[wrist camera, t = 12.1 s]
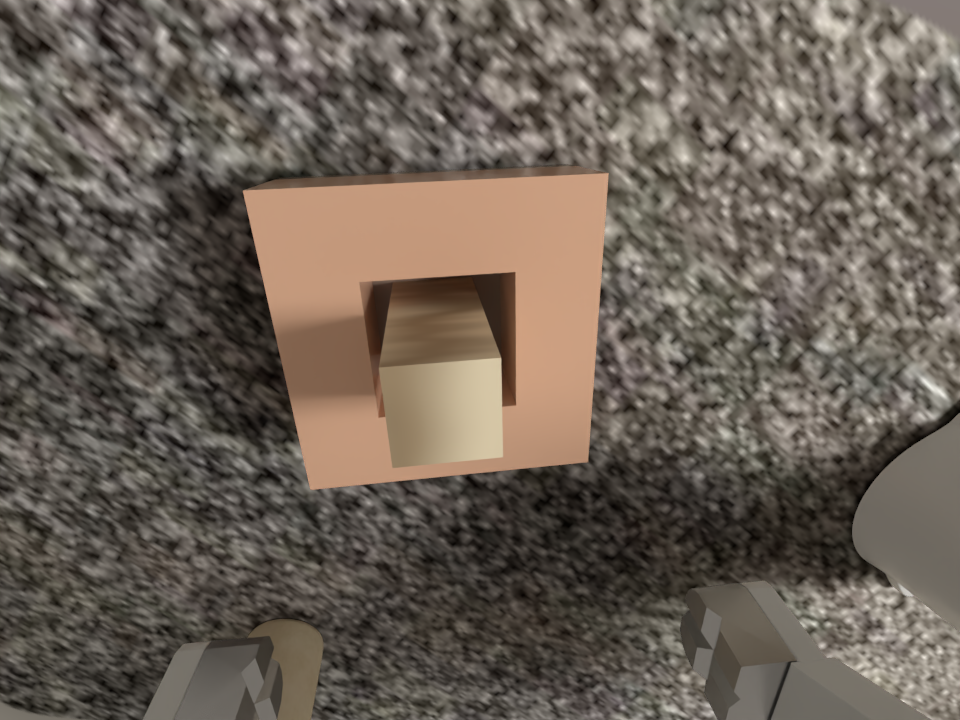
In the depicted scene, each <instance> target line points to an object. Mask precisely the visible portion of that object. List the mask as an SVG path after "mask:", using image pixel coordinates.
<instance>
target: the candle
mask: <svg viewBox="0 0 960 720" xmlns="http://www.w3.org/2000/svg"><path fill="white" fill-rule="evenodd" d="M263 636H270V638H271V640H272V643H273V646H274V650H273V653H272V657H271V658H272V659H274V660H276V661H277V662H279V664H280V667H281V670H282V678H283V689H282V699H281V705H280V709H279V713H278V717H277V720H311V716H312V710H313V705H314V699H315V694H316V688H317V683H318V677H319V672H320V666H321V660H322V654H323V638H322V636H321V634H320V633H319V631H318V630H317V629H316V628H314V627H313V626H311V625H310V624H308V623H305V622H303V621H299V620H295V619H276V620H271V621H268V622H265V623H263V624H260V625H259V626H257V627H256V628H255V629H253V631H252V632H251V633H250V634H249V636H248V638H252V637H263Z"/></svg>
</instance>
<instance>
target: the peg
mask: <svg viewBox="0 0 960 720" xmlns="http://www.w3.org/2000/svg"><path fill="white" fill-rule="evenodd" d="M379 373H380V380H381V387H382V395H383V402H384V409H385V417H386V424H387V431H388V439H389V446H390V454H391V461H392V468H399V467H409V466H419V465H429V464H440V463H450V462H460V461H470V460H480V459H491V458H501V457H503V426H502V373H501V356H500V353H499V350H498V348H497V345H496V342H495V339H494V337H493V334H492V331H491V329H490V326H489V323H488V320H487V318H486V315H485V312H484V310H483V307H482V304H481V301H480V299H479V296H478V293H477V290H476V288H475V285H474V282H473V280H472V277H464V278H449V279H434V280H418V281H403V282H393V284H392V291H391V297H390V303H389V309H388V315H387V321H386V327H385V333H384V339H383V345H382V351H381V357H380V364H379Z"/></svg>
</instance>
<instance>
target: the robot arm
mask: <svg viewBox="0 0 960 720" xmlns="http://www.w3.org/2000/svg"><path fill="white" fill-rule="evenodd" d="M852 537H853V542H854V546H855V548H856V550H857V552H858V553H859V555H860V556H861V557H862V558H863V559H864V560H866V561H867V562H868V563H870V564H872V565H873V566H875V567H876V568H878V569H879V570H881V571H883V572H884V573H886V576H887V578H888V580H889V582H890V584H891V585H892V586H893V587H894V588H896V589H897V590H898V591H899V592H901V593H902V594H903V595H905V596H915V597H916V598H917V599H919V600H920V601H921V602H922V603H924V604H925V605H926V606H927V607H929V608H930V609H931V610H932V611H934V612H935V613H936V614H937V615H939V616H940V617H941V618H942V619H944V620H945V621H946V622H947V623H949V624H950V625H951V626H952V627H954V628H955V629H956V630H957V631H959V632H960V413H959V414H958V415H957V416H956V417H955V418H954V419H953V420H952V421H951V422H950V423H948V424H947V425H945V426H944V427H942V428H941V429H939V430H938V431H936V432H934V433H932V434H931V435H929V436H927V437H926V438H924V439H922V440H920V441H919V442H917V443H916V444H914V445H913V446H911V447H910V448H908V449H907V450H906V451H904V452H903V453H902V454H900V455H899V456H898V457H897V458H896V459H895V460H893V461H892V462H891V463H890V464H889V465H888V466H887V467H886V468H885V469H884V470H883V471H882V472H881V473H880V474H879V475H878V477H877V478H876V479H875V480H874V481H873V483H872V484H871V485H870V487H869V488H868V490H867V491H866V493H865V494H864V496H863V498H862V500H861V502H860V504H859V506H858V508H857V511H856V514H855V517H854V521H853V527H852ZM685 603H686V604H687V606H688V608H689V611H688V612H687V613H686V614H685V615H684V616H683V617H682V620H681V627H680V632H681V638H682V644H683V647H684V650H685V653H686V656H687V658H688V660H689V662H690V665H691V667H692V669H693V670H695V671H696V672H697V673H698V674H700V675H701V676H702V677H703V678H705V679H706V684H705V691H704V693H705V695H706V697H707V699H708V701H709V703H710V705H711V707H712V709H713V711H714V713H715V715H716V717H717V719H718V720H931V719H929V718H928V717H926V716H925V715H923V714H921V713H920V712H918V711H917V710H915V709H914V708H912V707H911V706H909V705H907V704H906V703H904V702H903V701H901V700H900V699H898V698H897V697H895V696H893V695H892V694H890V693H889V692H887V691H886V690H884V689H883V688H881V687H879V686H878V685H876V684H875V683H873V682H872V681H870V680H869V679H867V678H865V677H864V676H862V675H861V674H859V673H858V672H856V671H855V670H853V669H851V668H850V667H848V666H847V665H845V664H844V663H842V662H841V661H839V660H837V659H836V658H826V656H825V655H824V654H823V653H822V651H821V650H820V649H819V647H818V646H817V645H816V643H815V642H814V641H813V639H812V638H811V637H810V635H809V634H808V633H807V632H806V630H805V629H804V628H803V626H802V625H801V624H800V622H799V621H798V620H797V618H796V617H795V616H794V615H793V613H792V612H791V611H790V609H789V608H788V607H787V605H786V604H785V603H784V601H783V600H782V599H781V597H780V596H779V595H778V594H777V592H776V591H775V590H774V588H773V587H772V586H771V585H770V584H769V583H767V582H766V581H755V582H747V583H740V584H738V583H732V584H724V585H716V586H708V587H700V588H693V589H690V590H689V591H688V592H687V595H686V599H685ZM273 650H274V646H273V643H272V640H271V638H270V636H263V637H252V638H240V639H229V640H217V641H205V642H196V643H186V644H183V645H182V646H181V647H180V648H179V649H178V651H177V652H176V653H175V654H174V656H173V658H172V660H171V662H170V664H169V666H168V668H167V671H166V673H165V675H164V677H163V679H162V681H161V683H160V685H159V687H158V689H157V691H156V693H155V695H154V697H153V699H152V701H151V703H150V705H149V707H148V710H147V712H146V714H145V716H144V718H143V720H277V717H278V713H279V709H280V705H281V699H282V689H283V678H282V670H281V667H280V664H279V662H277V661H276V660H274V659H272V658H271V657H272V653H273Z"/></svg>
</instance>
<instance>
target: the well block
mask: <svg viewBox="0 0 960 720" xmlns="http://www.w3.org/2000/svg"><path fill="white" fill-rule="evenodd" d="M608 174H609V173H605V172H601V171H596V170H592V169H587V168H583V167H578V166H574V165H550V166H528V167H506V168H484V169H462V170H440V171H418V172H397V173H375V174H353V175H331V176H309V177H287V178H278V179H275V180H272V181H269V182H266V183H263V184H260V185H257V186H255V187H252V188H249V189H246V190H243V194H244V198H245V203H246V207H247V212H248V216H249V221H250V225H251V229H252V234H253V238H254V243H255V247H256V251H257V256H258V260H259V265H260V269H261V273H262V278H263V282H264V287H265V291H266V296H267V300H268V304H269V309H270V313H271V318H272V322H273V326H274V331H275V335H276V340H277V344H278V349H279V353H280V357H281V362H282V366H283V371H284V375H285V379H286V384H287V388H288V393H289V397H290V401H291V406H292V410H293V415H294V419H295V424H296V428H297V432H298V437H299V441H300V446H301V450H302V454H303V459H304V463H305V468H306V472H307V476H308V481H309V485H310V490H314V489H324V488H334V487H344V486H354V485H364V484H374V483H384V482H394V481H404V480H414V479H424V478H434V477H444V476H454V475H464V474H474V473H484V472H494V471H504V470H514V469H524V468H534V467H544V466H554V465H564V464H574V463H584V462H588V455H589V441H590V427H591V413H592V399H593V385H594V371H595V357H596V343H597V329H598V315H599V300H600V286H601V272H602V258H603V244H604V230H605V216H606V202H607V188H608ZM464 277H472V280H473V282H474V285H475V288H476V290H477V293H478V296H479V299H480V301H481V304H482V307H483V310H484V312H485V315H486V318H487V320H488V323H489V326H490V329H491V331H492V334H493V337H494V339H495V342H496V345H497V348H498V350H499V353H500V356H501V373H502V426H503V457H501V458H491V459H480V460H470V461H460V462H450V463H440V464H429V465H419V466H409V467H399V468H392V461H391V454H390V446H389V439H388V431H387V424H386V417H385V409H384V402H383V395H382V387H381V380H380V373H379V364H380V357H381V351H382V345H383V339H384V333H385V327H386V321H387V315H388V309H389V303H390V297H391V291H392V284H393V282H403V281H418V280H434V279H449V278H464Z"/></svg>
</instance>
